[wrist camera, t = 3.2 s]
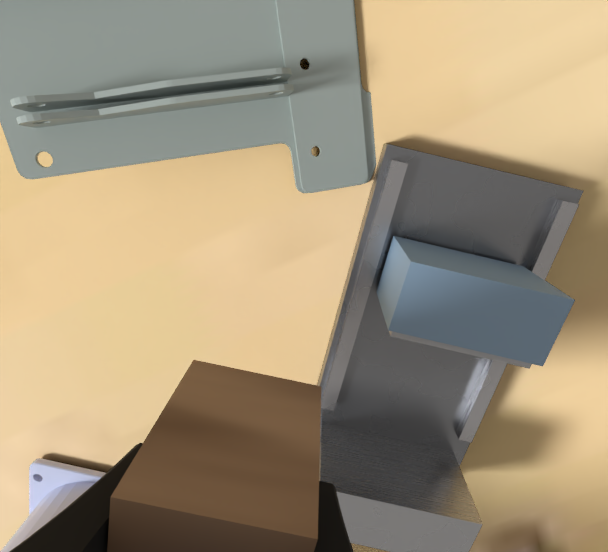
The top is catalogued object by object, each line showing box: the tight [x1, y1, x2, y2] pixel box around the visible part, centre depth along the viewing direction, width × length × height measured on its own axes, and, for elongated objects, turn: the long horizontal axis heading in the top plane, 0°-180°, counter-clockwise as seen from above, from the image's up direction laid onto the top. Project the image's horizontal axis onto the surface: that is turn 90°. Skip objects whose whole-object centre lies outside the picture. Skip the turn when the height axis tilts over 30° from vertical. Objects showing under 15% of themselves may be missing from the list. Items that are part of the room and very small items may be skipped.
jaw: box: [376, 236, 575, 369], centre depth 14 cm, size 3×5×4 cm, turn 77°
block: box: [107, 360, 321, 552], centre depth 11 cm, size 4×4×5 cm
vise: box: [317, 144, 583, 552], centre depth 16 cm, size 15×8×5 cm, turn 167°
